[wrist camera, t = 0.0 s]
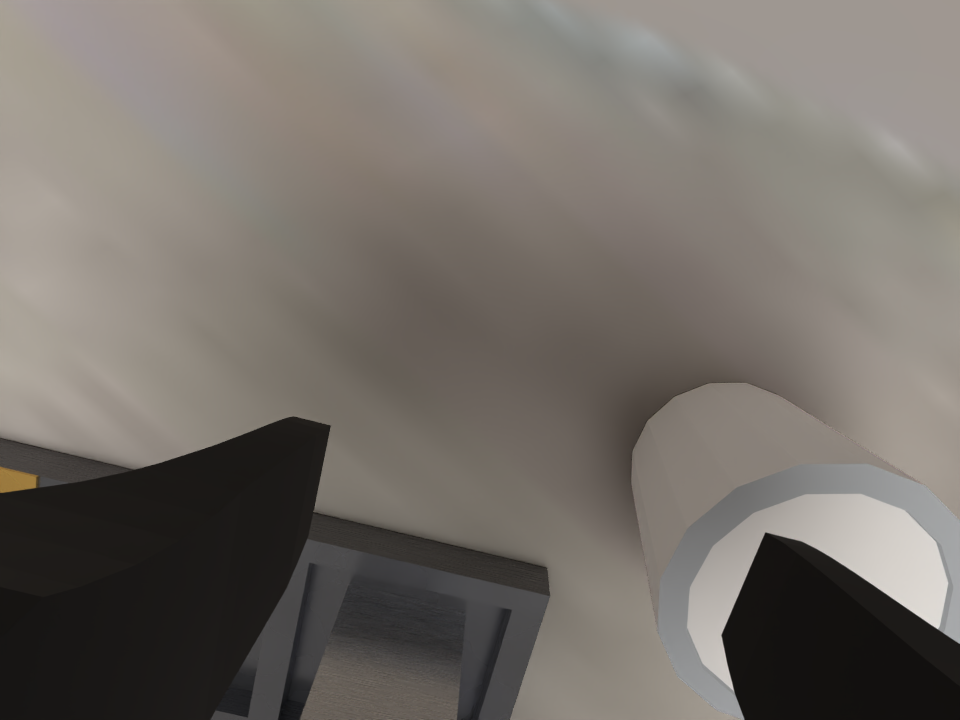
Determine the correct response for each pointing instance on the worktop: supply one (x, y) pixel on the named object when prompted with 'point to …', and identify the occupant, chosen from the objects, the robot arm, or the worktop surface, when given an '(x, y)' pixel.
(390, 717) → the brushed steel square tube
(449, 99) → the worktop surface
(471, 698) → the silver divided tray
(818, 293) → the worktop surface
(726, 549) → the white cup
